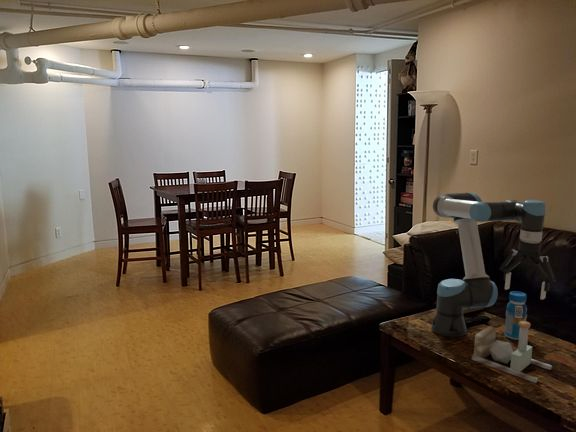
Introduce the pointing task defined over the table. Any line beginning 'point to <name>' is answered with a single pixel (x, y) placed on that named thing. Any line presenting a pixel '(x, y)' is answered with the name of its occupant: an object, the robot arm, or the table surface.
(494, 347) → the die
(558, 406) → the table surface
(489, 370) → the table surface
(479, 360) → the vise bed
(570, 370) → the table surface
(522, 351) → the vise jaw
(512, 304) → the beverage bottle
